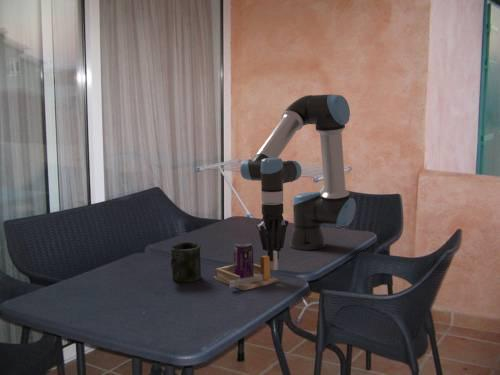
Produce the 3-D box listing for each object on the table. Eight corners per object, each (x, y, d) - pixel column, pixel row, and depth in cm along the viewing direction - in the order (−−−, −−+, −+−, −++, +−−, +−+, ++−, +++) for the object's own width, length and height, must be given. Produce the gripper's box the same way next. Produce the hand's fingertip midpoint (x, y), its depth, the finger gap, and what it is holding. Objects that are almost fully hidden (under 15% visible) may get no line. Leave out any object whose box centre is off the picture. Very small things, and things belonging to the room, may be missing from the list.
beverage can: (251, 280, 209) (250, 246, 207) (231, 279, 210) (230, 246, 209) (255, 274, 216) (254, 242, 214) (236, 274, 217) (235, 241, 216)
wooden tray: (247, 270, 224) (246, 260, 224) (278, 281, 210) (278, 271, 209) (213, 278, 215) (213, 268, 215) (243, 290, 201) (243, 279, 200)
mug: (207, 275, 219) (206, 243, 217) (187, 287, 206) (185, 253, 204) (182, 272, 224) (180, 241, 222) (160, 283, 210) (158, 250, 209)
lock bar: (266, 277, 211) (265, 255, 210) (269, 278, 209) (269, 256, 208) (228, 286, 201) (227, 263, 200) (232, 288, 200) (231, 264, 199)
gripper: (279, 199, 215) (280, 263, 218) (250, 203, 207) (252, 270, 210) (293, 201, 209) (294, 267, 212) (264, 206, 201) (265, 275, 204)
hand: (273, 269), depth 211 cm, fingers closed
